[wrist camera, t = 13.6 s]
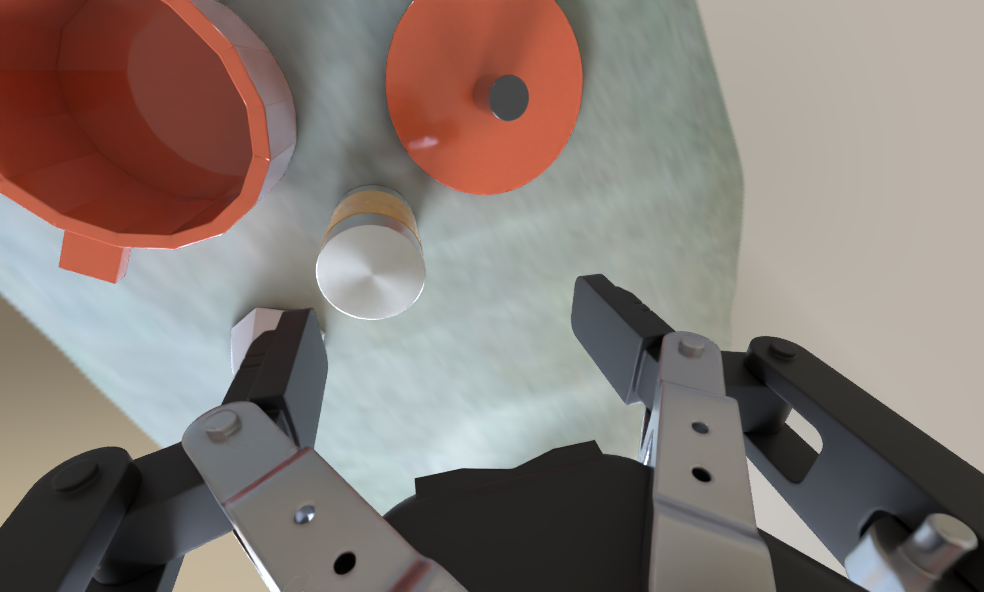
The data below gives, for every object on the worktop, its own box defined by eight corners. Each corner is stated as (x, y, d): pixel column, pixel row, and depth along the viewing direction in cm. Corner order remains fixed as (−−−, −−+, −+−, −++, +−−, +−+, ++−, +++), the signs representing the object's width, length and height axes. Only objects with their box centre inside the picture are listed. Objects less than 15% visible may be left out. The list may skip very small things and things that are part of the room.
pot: (27, 190, 24) (-101, 231, 18) (71, -155, 18) (-95, -276, 12) (252, 267, 29) (216, 320, 23) (341, 19, 24) (326, -1, 17)
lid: (352, 134, 27) (345, 149, 22) (443, -89, 22) (461, -138, 17) (514, 219, 33) (539, 247, 27) (612, 55, 28) (663, 51, 23)
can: (320, 242, 30) (299, 300, 22) (351, 168, 28) (339, 204, 20) (396, 271, 32) (400, 333, 25) (429, 206, 30) (444, 251, 23)
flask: (304, 386, 36) (280, 484, 27) (216, 360, 32) (156, 461, 24) (340, 326, 34) (325, 412, 25) (249, 291, 30) (196, 376, 22)
